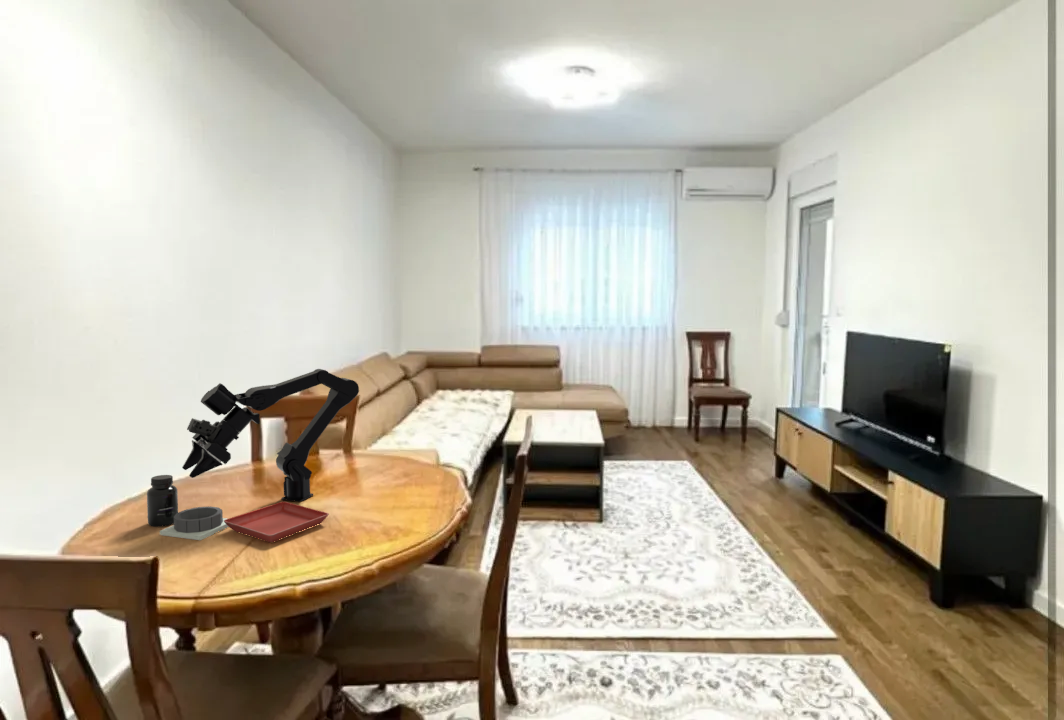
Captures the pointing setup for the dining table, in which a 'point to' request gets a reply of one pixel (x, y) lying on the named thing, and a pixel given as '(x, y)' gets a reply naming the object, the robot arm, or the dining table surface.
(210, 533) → the board
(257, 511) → the plant saucer
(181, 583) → the dining table surface
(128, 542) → the dining table surface
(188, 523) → the collar
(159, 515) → the supplement bottle
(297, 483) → the robot arm
